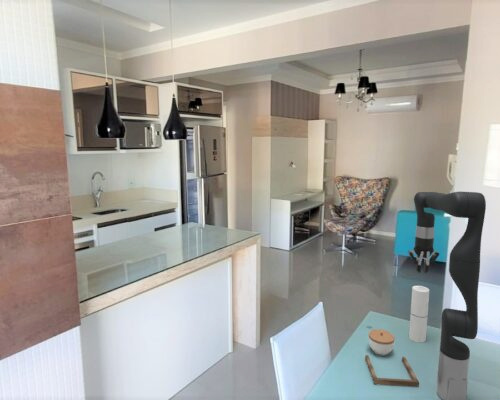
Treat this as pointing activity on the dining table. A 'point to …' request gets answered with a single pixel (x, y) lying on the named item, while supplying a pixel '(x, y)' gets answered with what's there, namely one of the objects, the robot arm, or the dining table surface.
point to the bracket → (396, 382)
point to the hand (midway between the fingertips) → (422, 272)
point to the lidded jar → (381, 341)
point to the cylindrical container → (419, 313)
